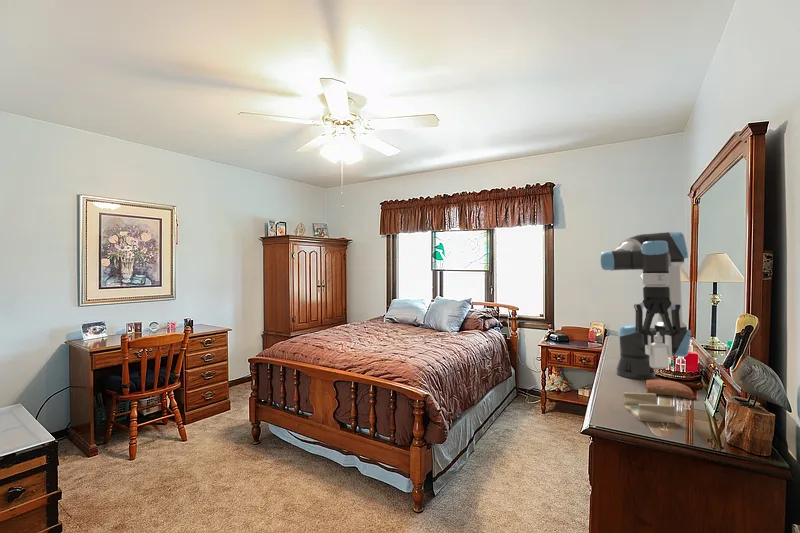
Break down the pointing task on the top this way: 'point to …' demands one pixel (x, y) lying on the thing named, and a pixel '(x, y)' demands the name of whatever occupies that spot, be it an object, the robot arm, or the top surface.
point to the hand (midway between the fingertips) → (658, 354)
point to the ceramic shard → (669, 388)
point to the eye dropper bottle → (659, 353)
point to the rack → (648, 407)
